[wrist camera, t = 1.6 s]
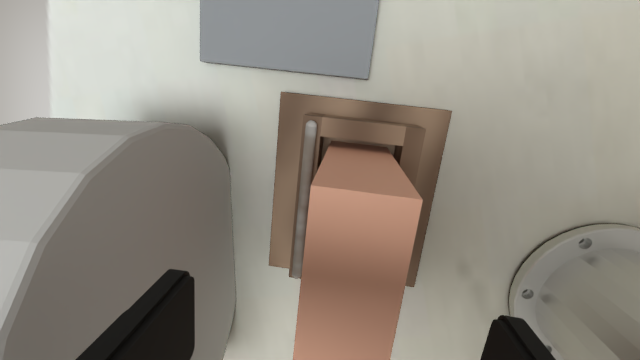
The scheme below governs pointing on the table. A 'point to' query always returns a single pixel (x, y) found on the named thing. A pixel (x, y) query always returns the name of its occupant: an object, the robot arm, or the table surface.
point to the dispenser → (354, 127)
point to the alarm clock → (108, 230)
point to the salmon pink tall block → (355, 254)
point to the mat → (290, 35)
